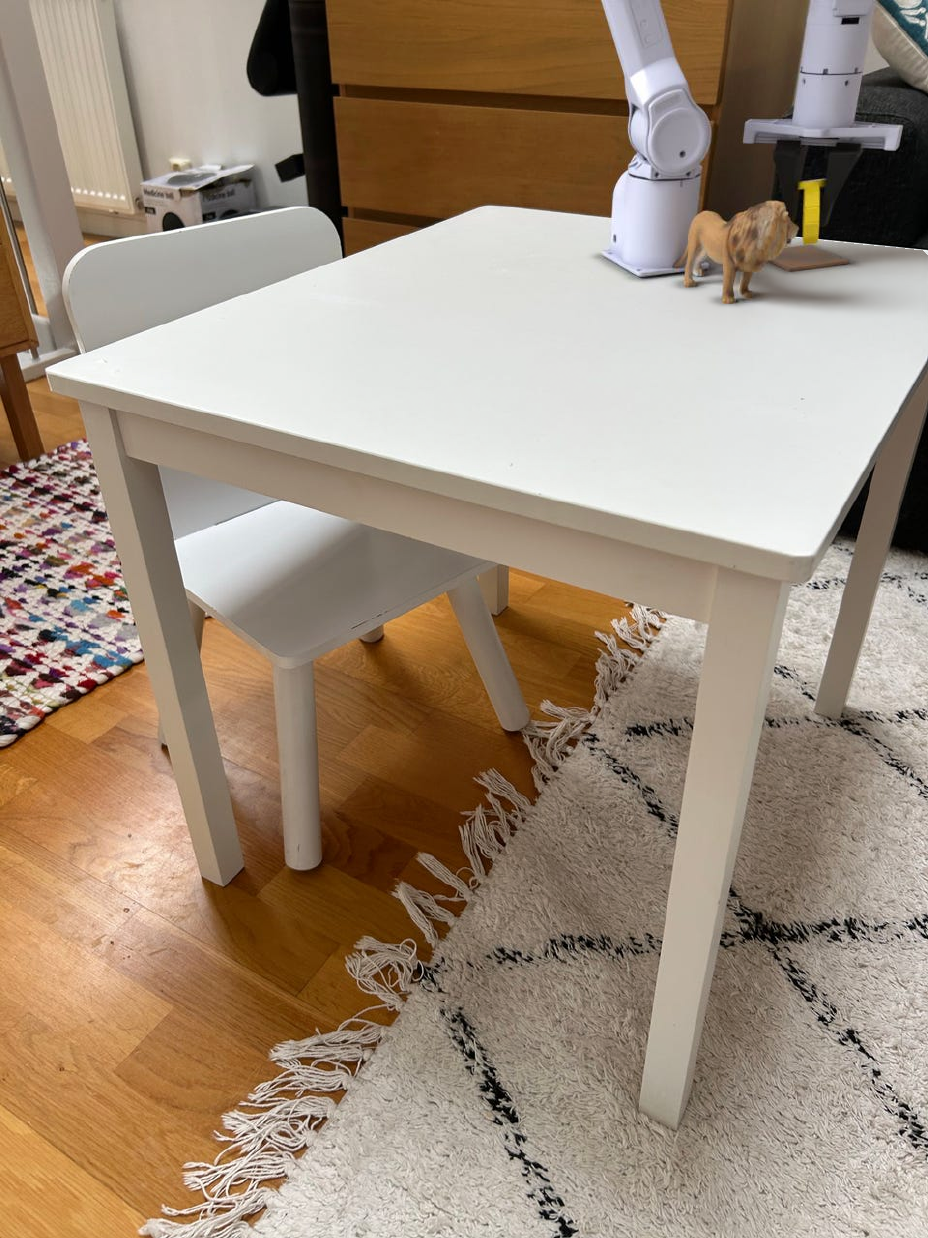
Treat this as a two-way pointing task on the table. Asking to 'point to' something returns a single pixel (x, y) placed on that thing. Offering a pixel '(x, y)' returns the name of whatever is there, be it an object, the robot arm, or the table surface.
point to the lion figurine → (737, 244)
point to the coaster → (806, 258)
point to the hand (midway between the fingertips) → (805, 223)
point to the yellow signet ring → (811, 209)
